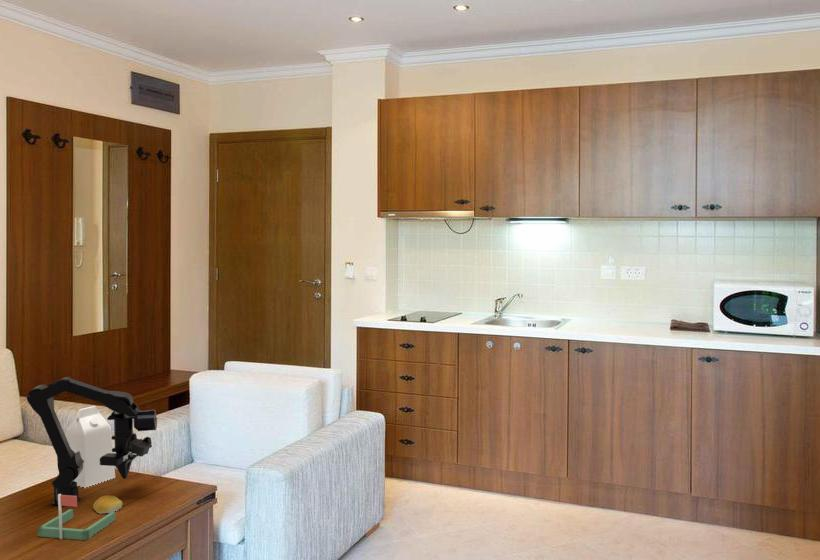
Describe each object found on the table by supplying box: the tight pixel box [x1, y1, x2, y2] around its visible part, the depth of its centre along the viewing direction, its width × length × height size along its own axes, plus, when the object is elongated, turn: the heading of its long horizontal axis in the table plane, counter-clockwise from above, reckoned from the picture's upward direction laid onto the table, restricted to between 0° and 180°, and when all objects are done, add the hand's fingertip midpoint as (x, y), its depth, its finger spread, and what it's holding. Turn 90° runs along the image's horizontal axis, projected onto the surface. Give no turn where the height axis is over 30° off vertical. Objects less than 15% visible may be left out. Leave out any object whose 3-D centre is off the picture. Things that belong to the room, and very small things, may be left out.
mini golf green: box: [37, 494, 116, 541], centre depth 210 cm, size 15×15×13 cm
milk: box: [65, 405, 116, 489], centre depth 251 cm, size 12×12×26 cm
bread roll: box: [92, 494, 123, 515], centre depth 225 cm, size 8×9×4 cm
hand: (124, 478), depth 235 cm, fingers closed
